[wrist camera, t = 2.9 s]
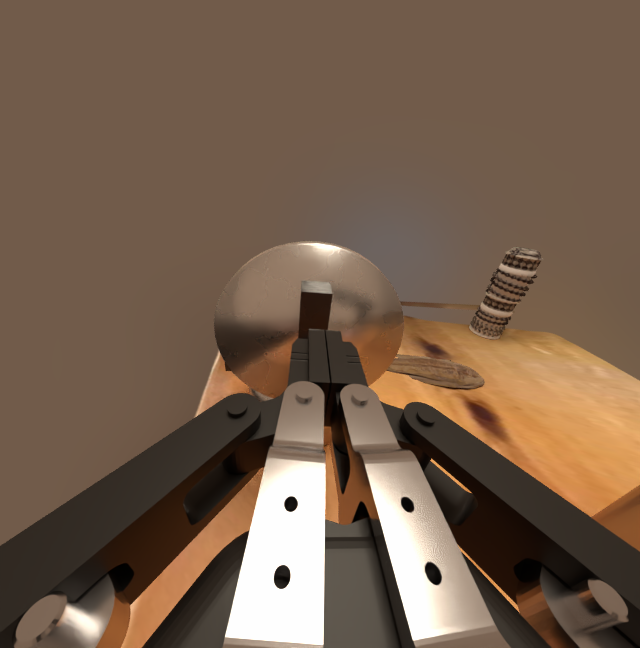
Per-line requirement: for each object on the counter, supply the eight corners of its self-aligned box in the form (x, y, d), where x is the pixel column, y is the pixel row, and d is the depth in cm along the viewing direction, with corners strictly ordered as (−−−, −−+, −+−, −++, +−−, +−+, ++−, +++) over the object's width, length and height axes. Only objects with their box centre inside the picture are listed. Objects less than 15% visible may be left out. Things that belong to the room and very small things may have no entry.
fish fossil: (368, 377, 51) (369, 373, 50) (364, 352, 60) (365, 348, 59) (490, 391, 50) (492, 386, 50) (467, 363, 59) (468, 359, 59)
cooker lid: (377, 398, 29) (390, 437, 25) (228, 393, 28) (212, 433, 23) (423, 251, 20) (456, 270, 16) (205, 231, 19) (172, 245, 14)
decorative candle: (504, 343, 68) (556, 256, 55) (468, 333, 71) (509, 249, 58) (498, 330, 75) (543, 250, 63) (466, 321, 78) (503, 243, 66)
